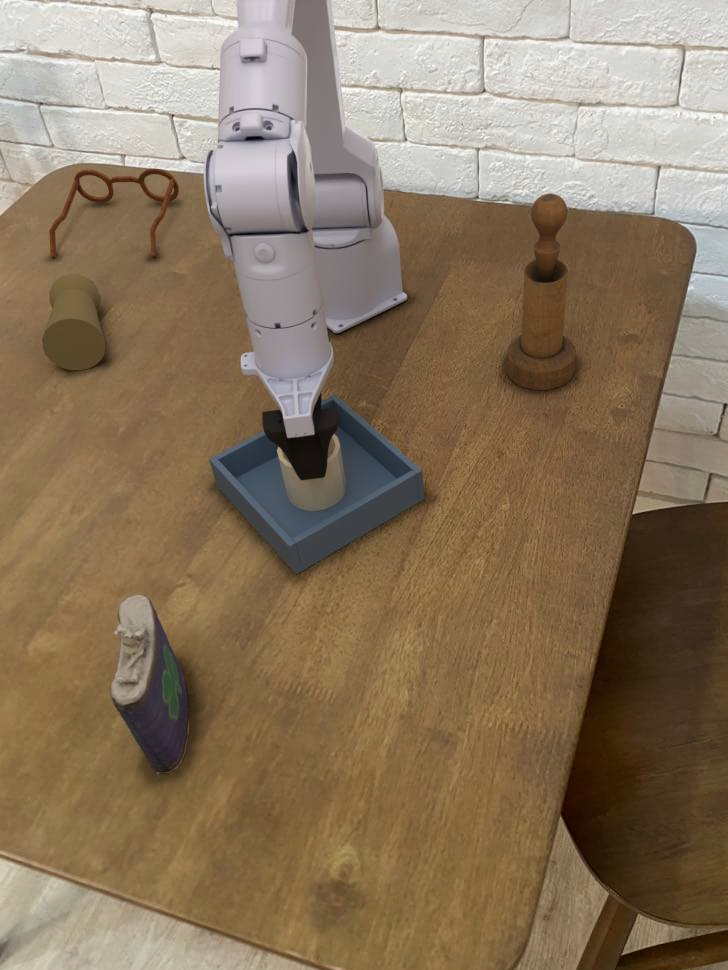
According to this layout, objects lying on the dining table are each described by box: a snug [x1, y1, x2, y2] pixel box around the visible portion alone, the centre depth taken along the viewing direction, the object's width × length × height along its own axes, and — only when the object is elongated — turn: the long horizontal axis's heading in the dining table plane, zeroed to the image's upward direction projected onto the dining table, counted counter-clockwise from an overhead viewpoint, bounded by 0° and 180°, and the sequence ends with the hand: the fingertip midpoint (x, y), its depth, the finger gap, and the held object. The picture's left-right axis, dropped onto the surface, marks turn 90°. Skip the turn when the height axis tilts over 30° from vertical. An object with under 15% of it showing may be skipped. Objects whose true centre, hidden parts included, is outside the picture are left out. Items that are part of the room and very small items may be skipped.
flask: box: [109, 594, 191, 776], centre depth 64 cm, size 9×3×11 cm, turn 8°
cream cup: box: [277, 434, 346, 511], centre depth 80 cm, size 5×5×5 cm
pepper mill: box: [41, 273, 106, 371], centre depth 98 cm, size 6×6×11 cm
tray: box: [208, 393, 425, 575], centre depth 81 cm, size 13×13×4 cm
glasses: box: [49, 168, 180, 259], centre depth 113 cm, size 13×13×5 cm
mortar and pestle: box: [505, 193, 577, 391], centre depth 85 cm, size 7×6×18 cm
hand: (310, 444), depth 78 cm, fingers open, 7 cm apart
